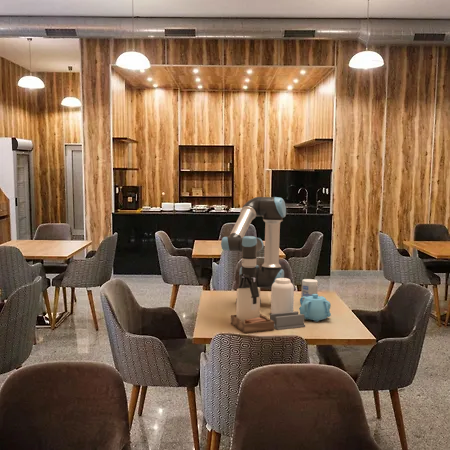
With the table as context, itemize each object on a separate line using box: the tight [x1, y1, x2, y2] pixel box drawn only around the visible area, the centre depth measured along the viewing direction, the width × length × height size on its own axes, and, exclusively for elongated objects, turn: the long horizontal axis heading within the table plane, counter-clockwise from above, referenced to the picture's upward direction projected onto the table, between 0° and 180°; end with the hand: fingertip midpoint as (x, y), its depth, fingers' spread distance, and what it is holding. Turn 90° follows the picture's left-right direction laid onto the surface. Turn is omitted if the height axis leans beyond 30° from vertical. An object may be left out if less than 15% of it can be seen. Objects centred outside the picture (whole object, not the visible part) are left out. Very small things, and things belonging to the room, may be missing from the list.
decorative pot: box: [298, 293, 332, 322], centre depth 284 cm, size 16×16×14 cm
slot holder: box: [269, 311, 306, 331], centre depth 270 cm, size 10×16×6 cm, turn 112°
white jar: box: [270, 277, 295, 314], centre depth 293 cm, size 12×12×20 cm
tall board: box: [235, 287, 261, 322], centre depth 271 cm, size 3×12×18 cm, turn 112°
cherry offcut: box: [245, 317, 266, 324], centre depth 264 cm, size 6×9×2 cm, turn 124°
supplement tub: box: [300, 278, 319, 302], centre depth 316 cm, size 10×10×15 cm
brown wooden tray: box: [230, 313, 275, 334], centre depth 267 cm, size 18×16×4 cm
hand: (248, 306), depth 271 cm, fingers open, 13 cm apart
